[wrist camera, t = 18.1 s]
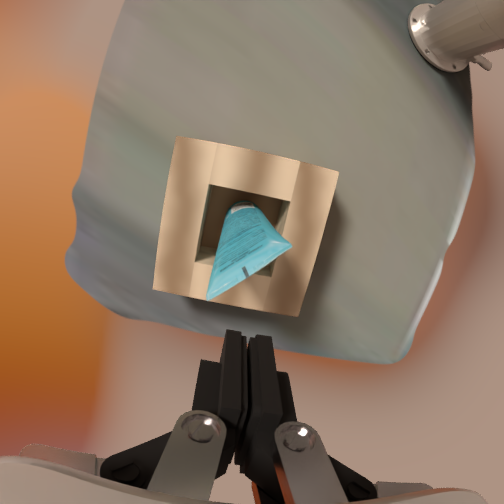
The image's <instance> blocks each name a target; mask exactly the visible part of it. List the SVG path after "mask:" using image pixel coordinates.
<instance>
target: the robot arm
mask: <svg viewBox="0 0 504 504" xmlns="http://www.w3.org/2000/svg"><path fill="white" fill-rule="evenodd" d="M408 29H409V33H410V36H411V38H412V41H413V43H414V44H415V46H416V48H417V49H418V51H419V52H420V53H421V55H422V56H423V57H424V58H425V59H426V60H427V61H428V62H429V63H431V64H432V65H433V66H435V67H436V68H438V69H440V70H442V71H446V72H458V71H461V70H463V69H464V68H465V67H467V65H468V63H469V62H470V61H471V62H473V63H478V64H479V65H480V66H481V67H482V68H484V69H485V70H487V71H489V70H490V69H491V68H492V63H491V62H490V61H488V60H487V59H486V58H484V57H482V56H481V54H485V53H488V52H491V51H495V50H499V49H503V48H504V0H444V1H442V2H441V3H439V4H437V5H433V4H427V3H426V4H420V5H418V6H416V7H415V8H414V9H413V10H412V11H411V12H410V14H409V17H408ZM234 452H235V458H234V463H235V465H240V473H243V474H245V476H247V477H248V478H249V479H250V480H251V481H252V491H253V496H254V500H255V504H488V503H487V502H486V500H485V499H484V498H483V497H482V496H481V495H480V494H478V493H477V492H475V491H471V490H467V489H460V488H436V489H433V488H432V487H431V486H429V485H427V484H423V483H396V482H379V481H378V482H377V483H376V484H372V482H370V481H369V480H368V479H366V478H365V477H363V476H361V475H360V474H358V473H356V472H355V471H353V470H351V469H350V468H348V467H347V466H345V465H343V464H342V463H340V462H339V461H337V460H335V459H334V458H332V457H331V456H329V455H328V454H327V452H326V450H325V448H324V445H323V443H322V441H321V438H320V436H319V435H318V433H317V431H316V430H314V429H313V428H312V427H311V426H309V425H307V424H305V423H301V422H297V418H296V413H295V407H294V402H293V397H292V391H291V386H290V381H289V376H288V373H286V372H279V371H276V364H275V357H274V350H273V343H272V337H271V336H264V335H258V334H257V335H256V337H255V338H253V337H250V340H249V343H248V347H247V341H246V336H241V332H240V331H234V330H228V329H227V330H226V334H225V339H224V344H223V349H222V353H221V358H220V363H218V362H212V361H207V360H201V362H200V367H199V372H198V378H197V383H196V389H195V395H194V400H193V406H192V411H189V412H186V413H184V414H183V415H181V416H180V417H179V419H178V420H177V422H176V424H175V427H174V429H173V431H171V432H169V433H166V434H164V435H162V436H160V437H158V438H155V439H152V440H150V441H148V442H145V443H143V444H141V445H138V446H136V447H133V448H130V449H128V450H125V451H122V452H120V453H117V454H115V455H112V456H110V457H109V458H106V459H103V458H97V457H96V455H94V454H88V453H82V452H76V451H70V450H64V449H59V448H54V447H50V446H45V445H41V444H31V445H28V446H26V447H25V448H23V449H22V450H21V452H20V454H19V456H0V504H231V503H220V502H212V501H209V497H210V494H211V490H212V486H213V483H214V480H215V479H217V478H218V477H220V476H222V475H223V474H225V473H226V470H227V467H228V464H230V463H231V460H232V457H233V455H234Z"/></svg>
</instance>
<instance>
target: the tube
mask: <svg viewBox="0 0 504 504" xmlns="http://www.w3.org/2000/svg"><path fill="white" fill-rule="evenodd" d="M292 247H293V246H292V244H291V243H290V242H288V241H287V240H286V239H285V238H283V237H282V236H281V235H280V234H279V233H278V232H277V231H276V229H275V228H274V227H273V226H272V224H271V223H270V222H269V221H268V219H267V218H266V216H265V215H264V214H263V212H262V211H261V209H260V208H259V207H258V206H257V205H256V204H255V203H253V202H251V201H238V202H236V203H234V204H233V205H231V206H230V207H229V209H228V210H227V213H226V216H225V220H224V224H223V228H222V232H221V236H220V240H219V244H218V248H217V252H216V256H215V260H214V264H213V268H212V272H211V276H210V280H209V284H208V289H207V294H206V300H207V301H210V300H212V299H213V298H215V297H217V296H219V295H220V294H222V293H224V292H225V291H227V290H229V289H230V288H232V287H234V286H235V285H237V284H238V283H240V282H242V281H243V280H245V279H246V278H248V277H250V276H251V275H253V274H254V273H256V272H257V271H259V270H260V269H262V268H263V267H265V266H267V265H268V264H269V263H270V262H272V261H273V260H275V259H276V258H277V257H278V256H280V255H281V254H283V253H284V252H286V251H287V250H289V249H291V248H292Z"/></svg>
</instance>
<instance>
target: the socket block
mask: <svg viewBox="0 0 504 504" xmlns="http://www.w3.org/2000/svg"><path fill="white" fill-rule="evenodd" d="M338 175H339V172H338V171H334V170H331V169H327V168H323V167H320V166H316V165H312V164H308V163H305V162H301V161H297V160H293V159H289V158H285V157H280V156H276V155H272V154H268V153H263V152H259V151H254V150H249V149H245V148H240V147H235V146H230V145H225V144H220V143H215V142H209V141H204V140H198V139H192V138H186V137H180V136H176V141H175V146H174V151H173V156H172V161H171V166H170V172H169V177H168V183H167V189H166V194H165V200H164V207H163V213H162V220H161V227H160V234H159V241H158V249H157V257H156V265H155V274H154V283H153V289H155V290H159V291H164V292H168V293H173V294H178V295H182V296H187V297H192V298H197V299H202V300H206V294H207V289H208V284H209V280H210V276H211V272H212V268H213V264H214V260H215V256H216V252H217V248H218V244H219V240H220V236H221V232H222V228H223V224H224V220H225V216H226V213H227V210H228V209H229V207H230V206H231V205H233V204H234V203H236V202H238V201H251V202H253V203H255V204H256V205H257V206H258V207H259V208H260V209H261V211H262V212H263V214H264V215H265V216H266V218H267V219H268V221H269V222H270V223H271V224H272V226H273V227H274V228H275V229H276V231H277V232H278V233H279V234H280V235H281V236H282V237H283V238H285V239H286V240H287V241H288V242H290V243H291V244H292V246H293V247H292V248H291V249H289V250H287V251H286V252H284V253H283V254H281V255H280V256H278V257H277V258H276V259H275V260H273V261H272V262H270V263H269V264H268V265H267V266H265V267H263V268H262V269H260V270H259V271H257V272H256V273H254V274H253V275H251V276H250V277H248V278H246V279H245V280H243V281H242V282H240V283H238V284H237V285H235V286H234V287H232V288H230V289H229V290H227V291H225V292H224V293H222V294H220V295H219V296H217V297H215V298H213V299H212V300H210V301H212V302H217V303H222V304H227V305H232V306H238V307H243V308H249V309H254V310H260V311H265V312H271V313H277V314H283V315H289V316H295V317H298V315H299V312H300V309H301V306H302V303H303V299H304V296H305V293H306V290H307V287H308V283H309V280H310V277H311V273H312V270H313V267H314V263H315V260H316V256H317V253H318V250H319V246H320V243H321V239H322V235H323V232H324V228H325V225H326V221H327V217H328V214H329V210H330V206H331V202H332V198H333V195H334V191H335V187H336V183H337V179H338Z"/></svg>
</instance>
